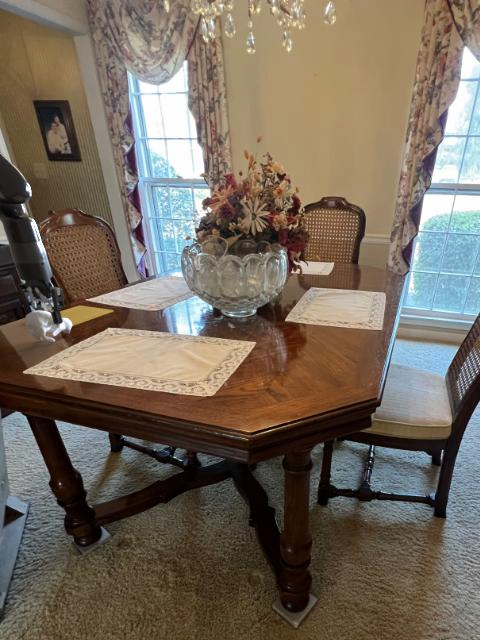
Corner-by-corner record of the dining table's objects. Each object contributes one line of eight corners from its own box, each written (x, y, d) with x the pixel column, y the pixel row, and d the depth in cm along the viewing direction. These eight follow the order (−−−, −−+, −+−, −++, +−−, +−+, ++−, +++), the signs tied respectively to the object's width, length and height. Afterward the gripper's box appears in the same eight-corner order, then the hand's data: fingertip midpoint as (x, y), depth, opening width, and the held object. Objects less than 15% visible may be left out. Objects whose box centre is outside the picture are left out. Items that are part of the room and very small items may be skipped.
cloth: (65, 328, 117) (64, 327, 117) (28, 322, 122) (27, 321, 122) (114, 311, 133) (113, 310, 133) (80, 306, 138) (79, 305, 138)
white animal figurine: (18, 311, 101) (58, 304, 112) (26, 342, 105) (64, 332, 115) (36, 314, 99) (74, 306, 110) (43, 345, 103) (80, 335, 113)
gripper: (-3, 260, 98) (20, 323, 106) (37, 264, 94) (58, 329, 102) (25, 255, 104) (44, 316, 112) (63, 259, 100) (81, 321, 108)
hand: (51, 322), depth 107 cm, fingers closed on white animal figurine, 5 cm apart
